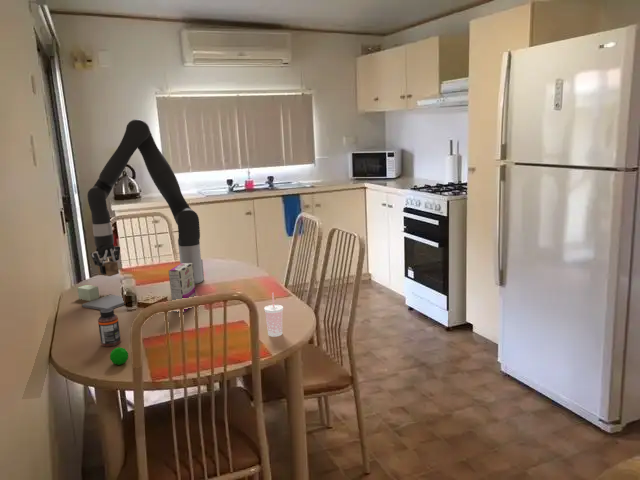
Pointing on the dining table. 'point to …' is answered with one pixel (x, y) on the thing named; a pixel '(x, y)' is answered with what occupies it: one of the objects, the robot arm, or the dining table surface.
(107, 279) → the dining table surface
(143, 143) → the robot arm
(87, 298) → the sage brick
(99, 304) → the plate
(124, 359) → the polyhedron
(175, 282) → the candy bar box
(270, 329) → the beverage cup
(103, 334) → the supplement bottle
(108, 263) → the walnut brick
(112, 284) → the dining table surface
